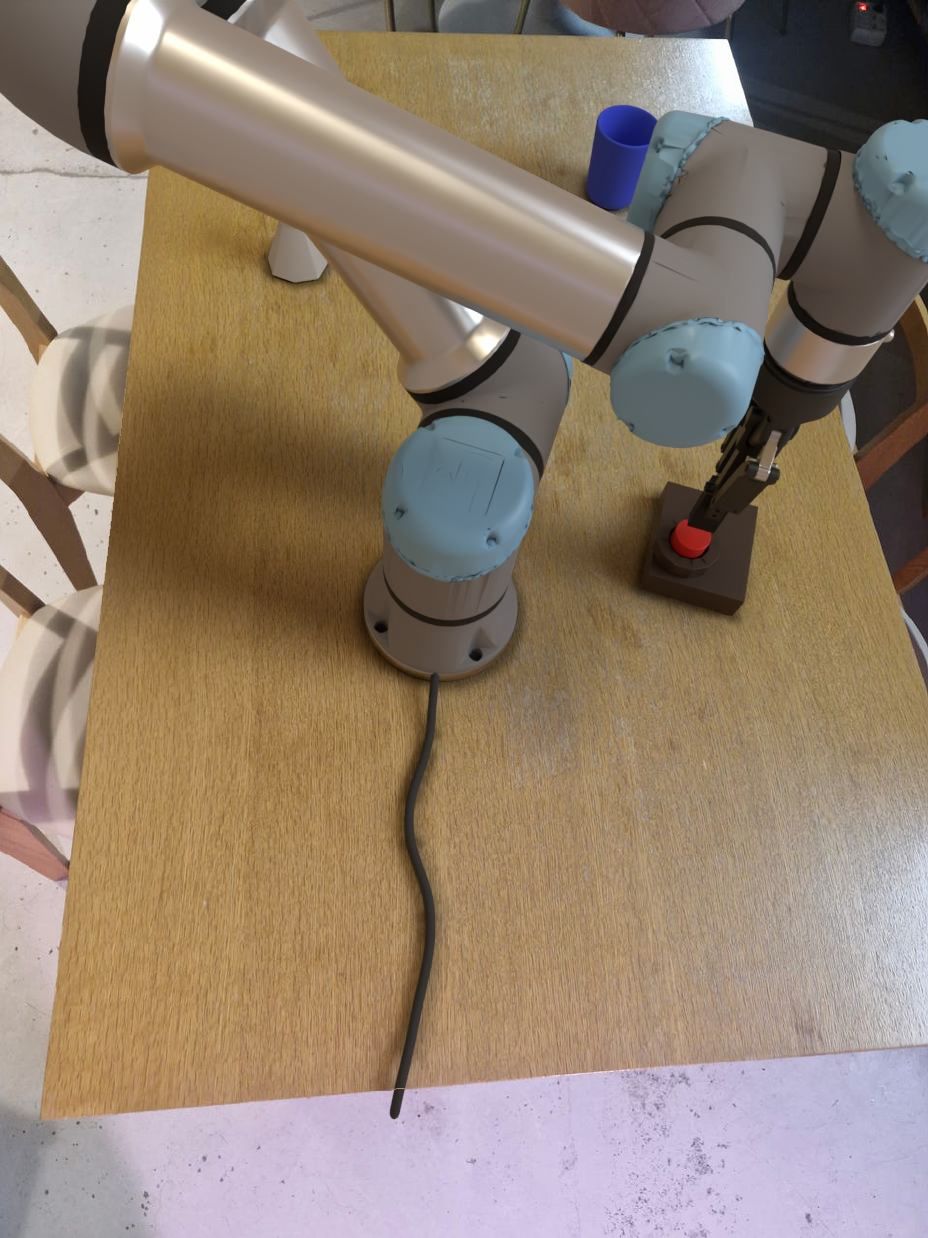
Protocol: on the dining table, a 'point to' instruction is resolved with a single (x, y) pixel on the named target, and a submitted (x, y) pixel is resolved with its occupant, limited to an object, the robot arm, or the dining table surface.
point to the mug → (618, 154)
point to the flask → (295, 255)
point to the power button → (689, 540)
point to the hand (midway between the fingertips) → (701, 523)
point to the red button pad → (716, 570)
